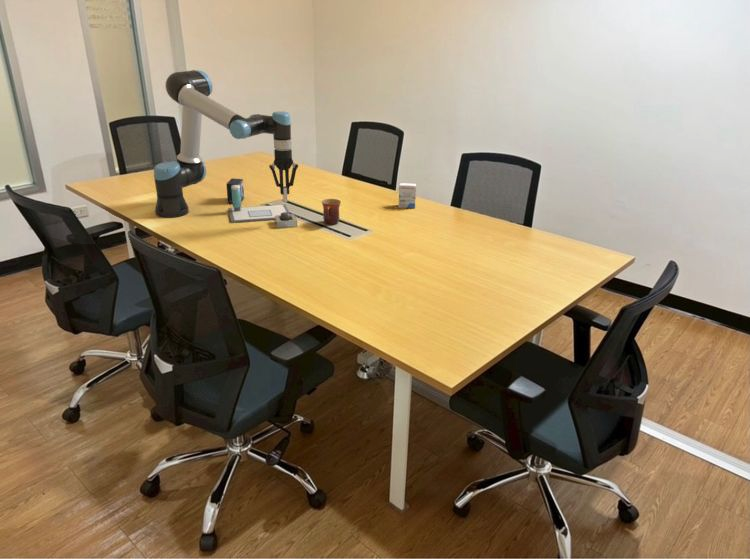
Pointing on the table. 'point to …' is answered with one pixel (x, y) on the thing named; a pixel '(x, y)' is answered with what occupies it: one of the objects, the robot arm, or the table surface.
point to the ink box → (407, 195)
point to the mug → (331, 211)
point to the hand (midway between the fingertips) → (285, 201)
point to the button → (285, 216)
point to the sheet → (256, 213)
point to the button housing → (285, 222)
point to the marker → (236, 197)
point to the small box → (229, 191)
